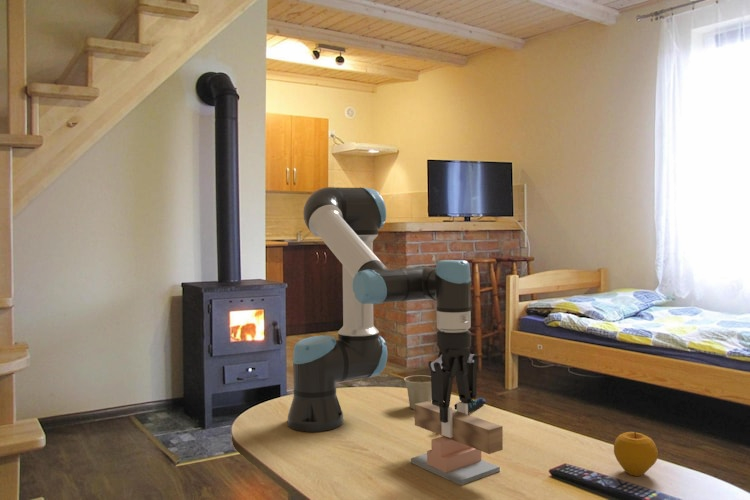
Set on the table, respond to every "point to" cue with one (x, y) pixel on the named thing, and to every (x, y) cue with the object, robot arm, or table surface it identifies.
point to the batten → (462, 428)
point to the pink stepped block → (455, 461)
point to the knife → (474, 404)
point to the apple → (635, 452)
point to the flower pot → (418, 389)
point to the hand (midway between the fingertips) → (454, 433)
